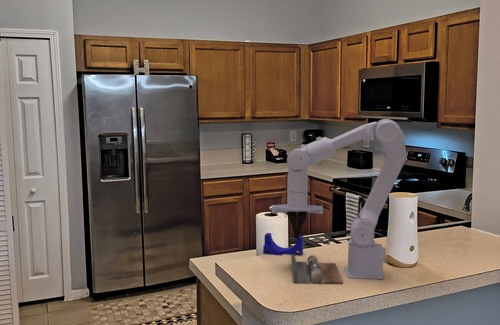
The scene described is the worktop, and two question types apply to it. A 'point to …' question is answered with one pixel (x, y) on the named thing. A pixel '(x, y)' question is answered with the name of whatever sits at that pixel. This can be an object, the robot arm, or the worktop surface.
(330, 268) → the fixed leaf
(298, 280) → the metal hinge
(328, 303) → the worktop surface
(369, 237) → the robot arm
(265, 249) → the blue u-shaped bracket
